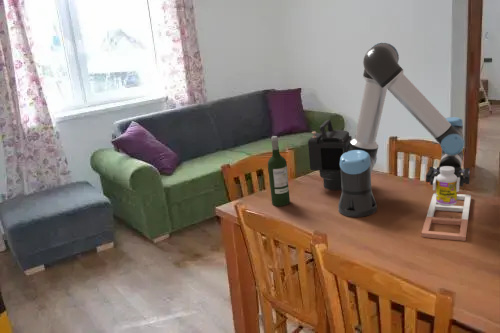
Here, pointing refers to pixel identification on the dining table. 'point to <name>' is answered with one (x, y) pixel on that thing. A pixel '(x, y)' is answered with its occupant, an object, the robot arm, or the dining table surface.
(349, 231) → the dining table surface
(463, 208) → the rack
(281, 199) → the wine bottle
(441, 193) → the supplement bottle
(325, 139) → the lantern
